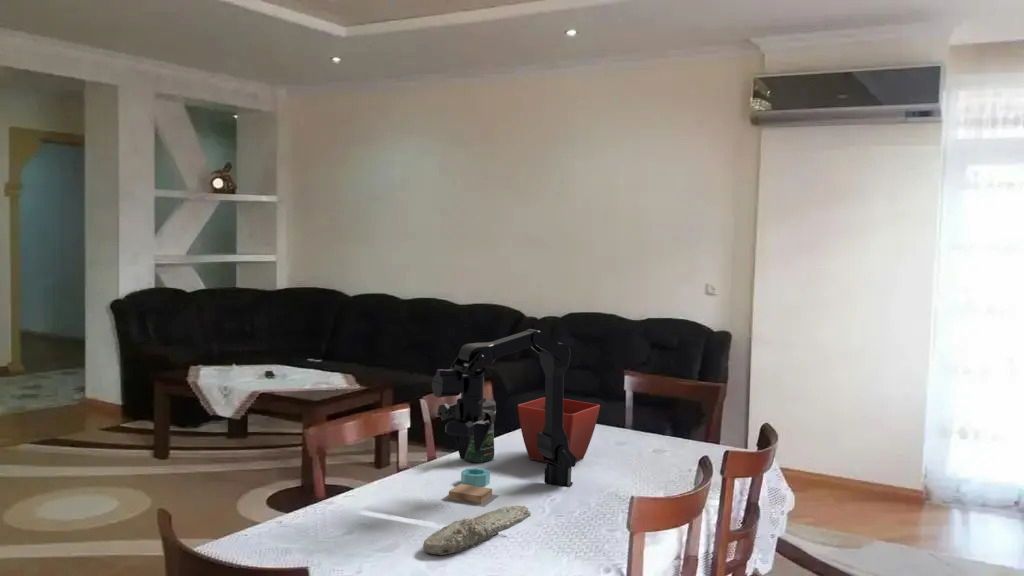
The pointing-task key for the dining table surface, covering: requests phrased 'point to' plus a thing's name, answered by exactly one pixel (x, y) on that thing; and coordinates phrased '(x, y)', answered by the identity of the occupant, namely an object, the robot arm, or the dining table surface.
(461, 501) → the mat
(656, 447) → the dining table surface
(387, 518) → the dining table surface
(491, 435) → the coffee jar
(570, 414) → the plant pot
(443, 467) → the dining table surface
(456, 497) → the lid
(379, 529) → the dining table surface
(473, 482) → the bowl
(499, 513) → the long grey stone
